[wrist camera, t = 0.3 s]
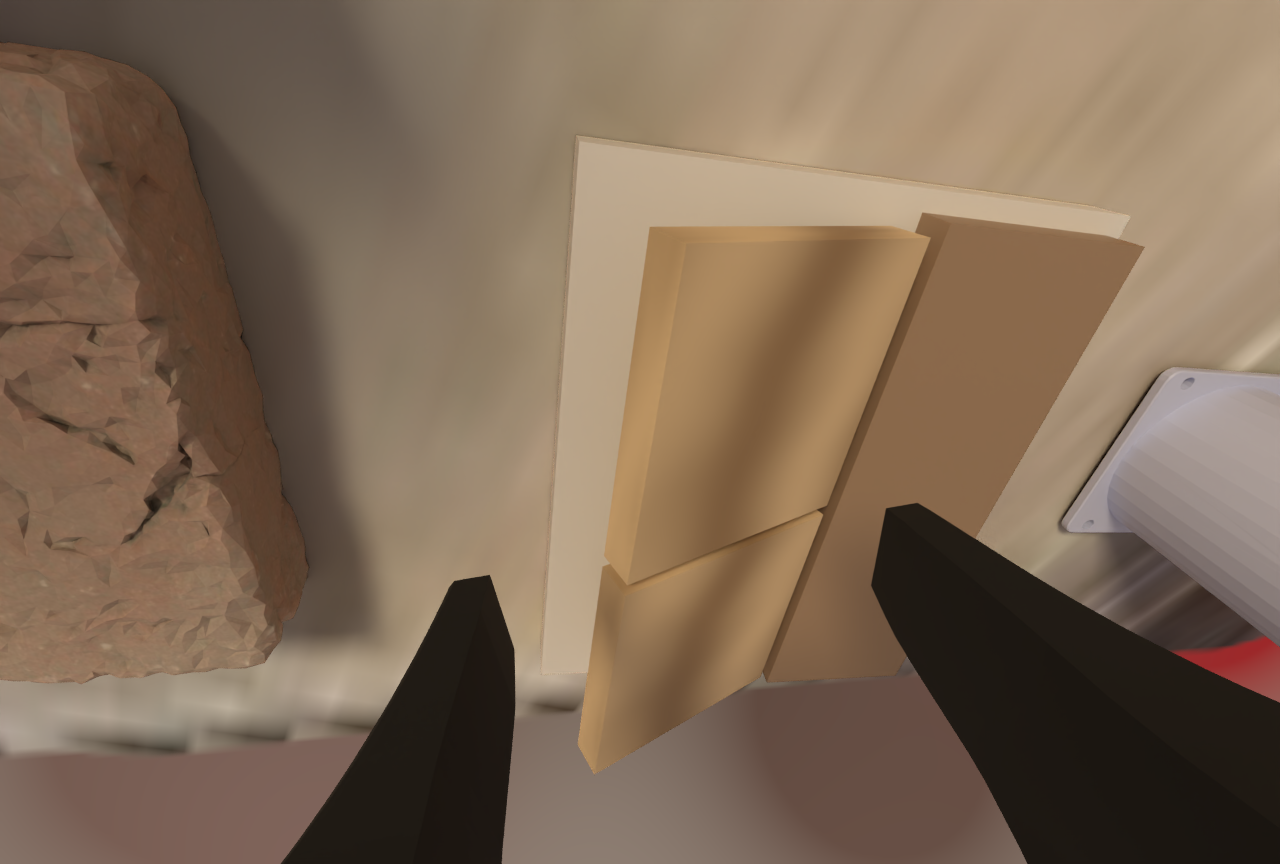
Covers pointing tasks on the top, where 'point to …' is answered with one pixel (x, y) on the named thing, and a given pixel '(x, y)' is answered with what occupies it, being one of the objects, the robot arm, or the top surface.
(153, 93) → the brick
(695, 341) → the plank
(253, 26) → the top surface
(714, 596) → the plank
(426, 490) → the top surface
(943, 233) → the floor board
